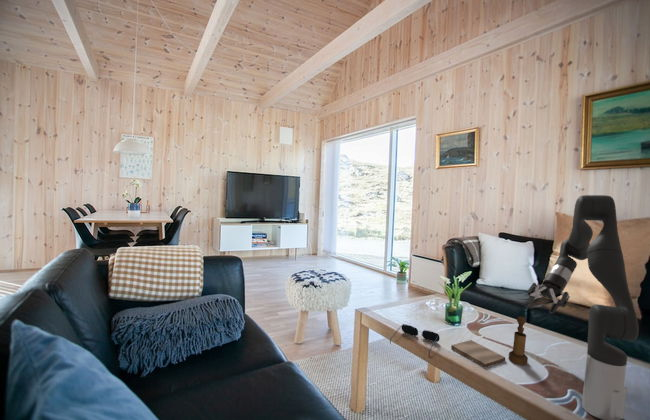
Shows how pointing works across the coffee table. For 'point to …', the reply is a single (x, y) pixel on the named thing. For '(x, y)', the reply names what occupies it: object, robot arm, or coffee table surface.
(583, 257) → the robot arm
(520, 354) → the wooden pepper mill
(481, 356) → the serving board
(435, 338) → the sunglasses
